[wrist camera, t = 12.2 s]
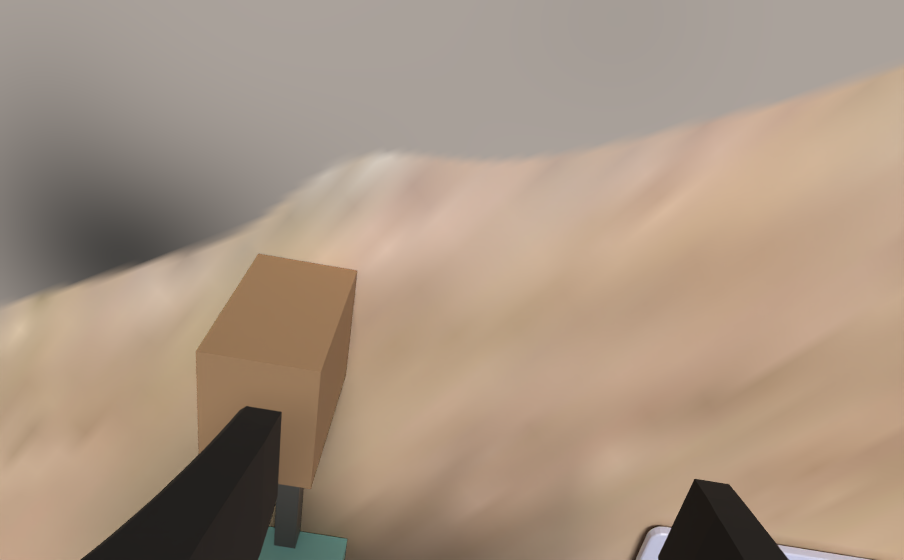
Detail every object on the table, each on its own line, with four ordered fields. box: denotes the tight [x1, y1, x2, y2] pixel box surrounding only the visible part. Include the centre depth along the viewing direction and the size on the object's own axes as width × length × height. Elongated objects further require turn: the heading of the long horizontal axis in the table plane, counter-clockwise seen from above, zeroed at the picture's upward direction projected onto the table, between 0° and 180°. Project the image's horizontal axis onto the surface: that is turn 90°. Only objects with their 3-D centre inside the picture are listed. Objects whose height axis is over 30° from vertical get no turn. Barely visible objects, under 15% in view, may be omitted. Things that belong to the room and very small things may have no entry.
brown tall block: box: [196, 254, 357, 560], centre depth 23 cm, size 4×17×5 cm, turn 171°
